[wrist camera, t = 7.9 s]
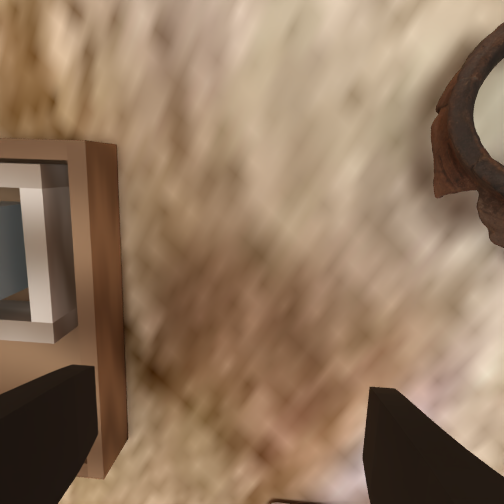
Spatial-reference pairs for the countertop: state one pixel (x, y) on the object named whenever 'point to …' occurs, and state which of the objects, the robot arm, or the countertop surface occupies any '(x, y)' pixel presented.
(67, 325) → the box
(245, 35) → the countertop surface
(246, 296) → the countertop surface
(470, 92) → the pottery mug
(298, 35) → the countertop surface
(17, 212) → the block
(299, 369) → the countertop surface
